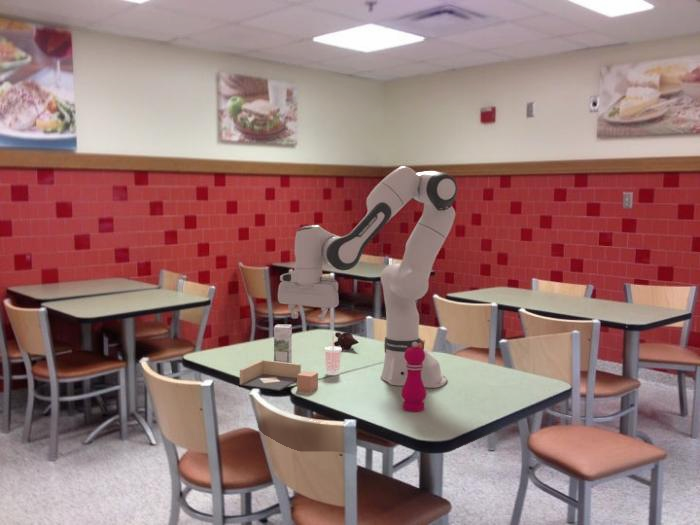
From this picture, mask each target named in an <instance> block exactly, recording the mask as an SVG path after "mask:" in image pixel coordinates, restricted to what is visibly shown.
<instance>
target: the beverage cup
mask: <svg viewBox="0 0 700 525" xmlns="http://www.w3.org/2000/svg"><path fill="white" fill-rule="evenodd" d="M334 340H335V333H332V340H331V341H332V342H331V343H332V345H331V346H330V345H329V346H325V347H324V348H323V349H324V354H325V373H326V375H328V376H337V375H340V369H341V368H340V367H341V355H342V351H343V348H342V347H340V346H335V345H334V342H335V341H334Z"/></svg>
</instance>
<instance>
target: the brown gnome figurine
mask: <svg viewBox="0 0 700 525" xmlns="http://www.w3.org/2000/svg"><path fill="white" fill-rule="evenodd" d="M334 337H336V338H337V340H336V341H334V346H336V347H341V348H342V349H345V350H348V349H351V348H352V346H354V345H356V344H359V341H358V340H357V339H356V338H354V335H353V334H352V333H350V332H349V331H347V332H342V333H341V332H335V333H334Z"/></svg>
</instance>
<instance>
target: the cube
mask: <svg viewBox="0 0 700 525" xmlns="http://www.w3.org/2000/svg"><path fill="white" fill-rule="evenodd" d="M318 388H319V372H314V371H308V370H307V371H306V370H304V371H301V373H300V374H298V375H297V381H296V390H297V391H302V392H303V391H304V392H308V393H309V392H310V393H311V392H314V391H315V390H316V389H318Z"/></svg>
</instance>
